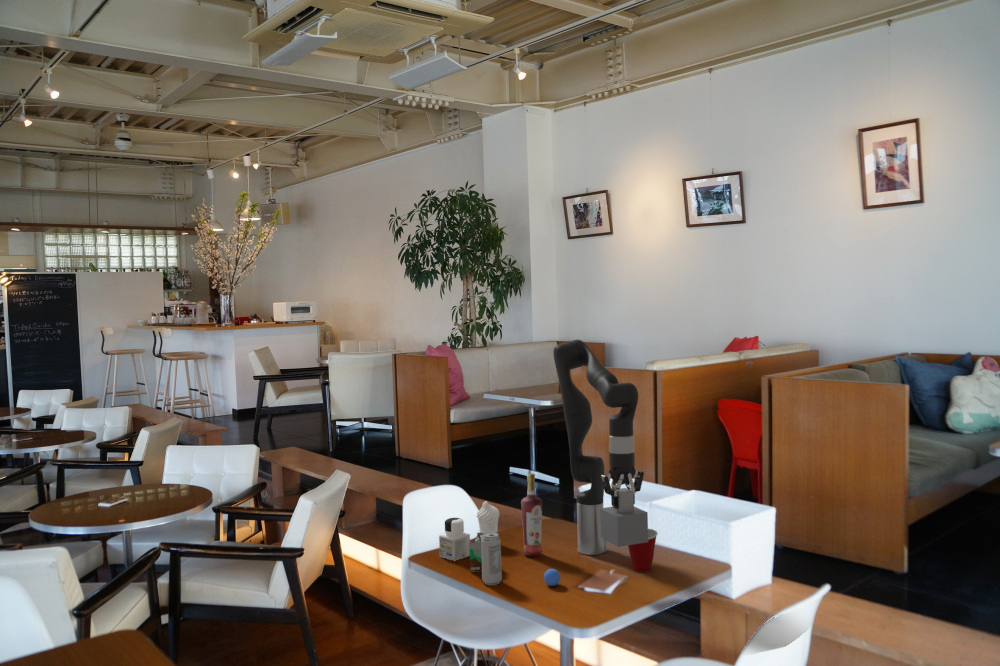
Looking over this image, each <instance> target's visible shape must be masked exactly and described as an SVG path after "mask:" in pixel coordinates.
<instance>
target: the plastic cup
mask: <svg viewBox="0 0 1000 666" xmlns="http://www.w3.org/2000/svg"><path fill="white" fill-rule="evenodd" d="M658 534H659V533H658V531H657V530H654V529H652V528H648V542H645V543H639V544H633V545H627V547H628V551H629V557H630V560H631V566H632V570H633V571H634V572H638V573H648V572H650V571H651V570H652V569H653V568H652V567H653V566H652V565H653V560H654V554H655V546H656V540H657V536H658Z"/></svg>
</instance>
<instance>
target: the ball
mask: <svg viewBox="0 0 1000 666" xmlns="http://www.w3.org/2000/svg"><path fill="white" fill-rule="evenodd" d="M543 579H544V582H545V583H546V584H547V585H548V586H550V587H553V586H554V587H555V586H557V585H558V584H559V583H560V581H561V574H560V572H559V571H558V570H557V569H555V568H549V569H547V570H546V571H545V572H544V575H543Z"/></svg>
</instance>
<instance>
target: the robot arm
mask: <svg viewBox="0 0 1000 666" xmlns="http://www.w3.org/2000/svg"><path fill="white" fill-rule="evenodd" d="M552 352H553V353H552V354H553V360H554V361H553V362H554V365H555V369H556V374H557V377H558V382H559V387H560V393H561V399H562V406H563V415H564V420H565V426H566V432H567V439H568V446H569V447H568V448H569V458H570V460H569V461H570V471H571V476H572V478H573V480H574V481H575V482H577V483H585V484H586V483H588V484H590V488H589V489H586V490H583V491H580V492H578V493H577V494H576V519H577V520H576V521H577V523H576V524H577V526H576V527H577V552H578V553H579V554H583V555H585V556H595V555H597V556H598V555H601V554H604V553H606V552H607V551H608V548H607V546H608V545H607V544H608V541H607V540H605V539H603V538H601V526H600V508H604V495H605V494H606V495H609V496H610V498H611V500H610V501H611V507H613V508H615V509H618V508H619V503H618V492H619V489H621V488H622V486H623V485H624V486H625V488H627V489H629V490H632V491H634V505H635V504H636V496H635V495H636V493H637V492H641V489H642V486H643V480H644V475H645V472H644V471H643V470H636V468H635V465H636V461H635V460H636V458H635V457H636V456H635V455H636V454H635V452H636V449H635V439H634V419H635V414H636V410H637V405H638V402H639V391H638V389H637V386H636V385H635V384H633V383H631V382H620V383H619V380H618V378H617V376H616V375H614V374H613V373H612V371H610V370H608V369H607V368H606V367H605V366H604V365H603V364H602V363H601V362H600V361H599V360H598V358H597V357H596V355H595V354H594V353H593V351H592V350H591V348H589V346H588V345H587V344H586V343H585V342H584V341H582V340H580V339H573V340H570V341H566V342H563V343H559V344H556V345H555V346H554V347H553V351H552ZM583 366H585V367H586V371H585V372H586V373H585V375H586V380H587V382H588V384H590V386H592V388H594V389H595V391H597V392H598V394H599V396H600V398H601V399H602V403H604V405H605V406H607V407H609V408H620V411H619V412H618V413H616V414H614V415H611V416H610V417H609V420H608V427H609V429H608V430H609V431H608V432H609V439H608V459H609V460H608V462H609V463H608V464H609V471H608V473H606V474H605V463H604V460H603V458H602V457H600V456H595V455H584V454H583V443H584V440H585V439H586V436H587V435H588V433H589V431H590V429H591V427H592V424H593V413H592V407H591V402H590V401H589V399H588V398H587V397H586V395H585V394H584V393H583V392H582V391H581V390H580V389H579V388H578V387H577V386H576V385H575V383H574V382H573V380H572V377H571V372H570V371H571V370H574V369H577V368H581V367H583ZM633 478H634V480H633ZM611 480H612V481H611ZM610 481H611V483H610Z"/></svg>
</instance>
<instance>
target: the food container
mask: <svg viewBox="0 0 1000 666" xmlns="http://www.w3.org/2000/svg"><path fill="white" fill-rule="evenodd" d="M483 534H485V533H480V531H479V532H476V536H475V537H474V538H473V539H472V541H470V542H469V550H470V556H469V563H470V565H469V567H470V568H469V569H470V572H471V571H481V570H482V549H481V540H482V538H483ZM481 572H482V571H481Z"/></svg>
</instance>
